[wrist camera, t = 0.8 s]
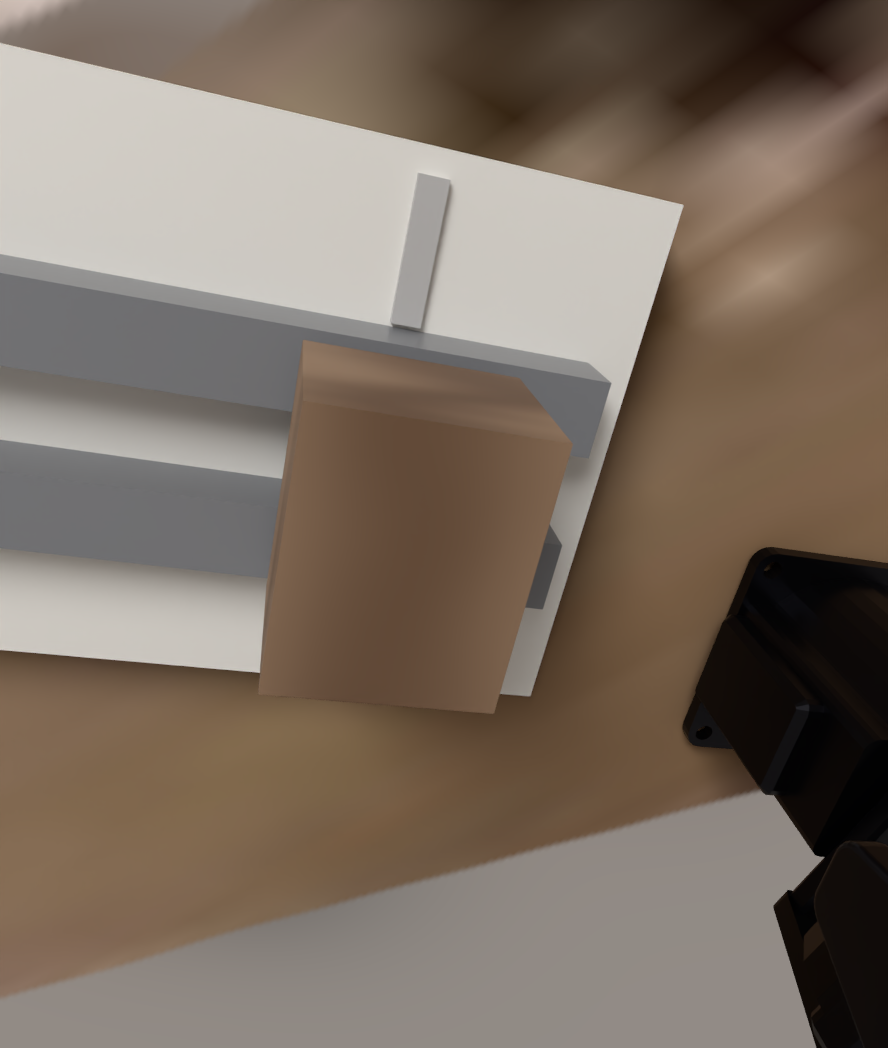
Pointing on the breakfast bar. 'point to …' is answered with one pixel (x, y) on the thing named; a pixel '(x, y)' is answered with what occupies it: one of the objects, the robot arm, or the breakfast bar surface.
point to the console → (260, 339)
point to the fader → (405, 531)
